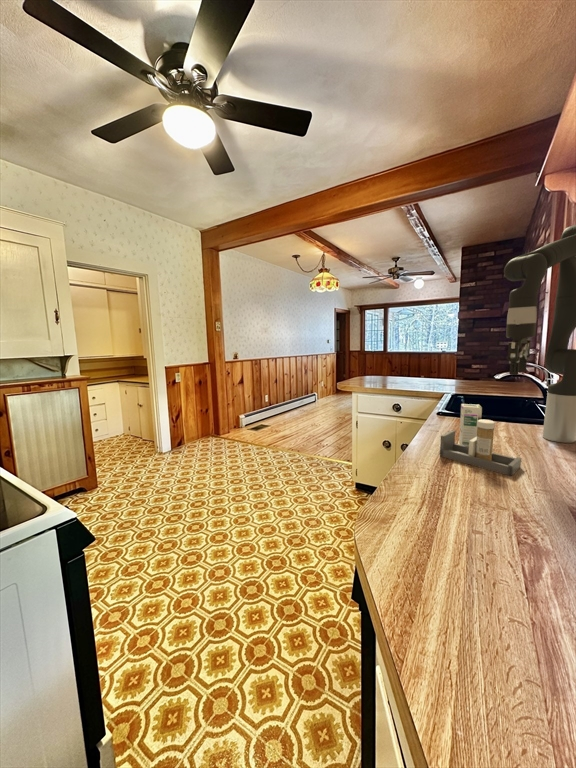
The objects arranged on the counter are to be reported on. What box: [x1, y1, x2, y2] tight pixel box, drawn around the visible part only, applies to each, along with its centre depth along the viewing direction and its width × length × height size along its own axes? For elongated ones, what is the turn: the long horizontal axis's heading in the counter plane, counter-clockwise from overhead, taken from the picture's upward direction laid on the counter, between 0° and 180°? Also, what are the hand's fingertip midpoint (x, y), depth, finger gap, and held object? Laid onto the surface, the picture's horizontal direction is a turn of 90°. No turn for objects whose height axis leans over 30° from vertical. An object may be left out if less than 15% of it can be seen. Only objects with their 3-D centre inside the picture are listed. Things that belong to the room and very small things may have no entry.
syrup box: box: [458, 403, 483, 447], centre depth 112 cm, size 6×6×14 cm
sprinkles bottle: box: [476, 418, 496, 461], centre depth 96 cm, size 5×5×13 cm
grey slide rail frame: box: [439, 429, 522, 477], centre depth 98 cm, size 8×20×7 cm, turn 40°
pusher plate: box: [468, 437, 477, 456], centre depth 99 cm, size 6×1×5 cm, turn 130°
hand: (517, 373), depth 102 cm, fingers open, 8 cm apart
